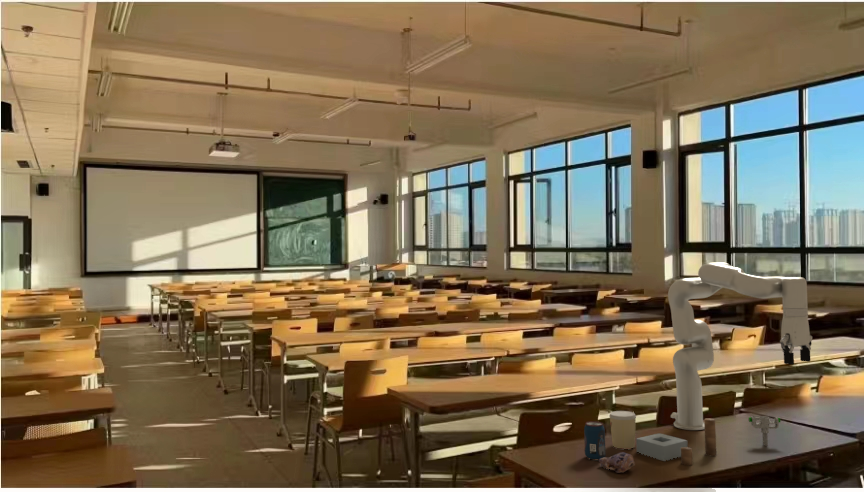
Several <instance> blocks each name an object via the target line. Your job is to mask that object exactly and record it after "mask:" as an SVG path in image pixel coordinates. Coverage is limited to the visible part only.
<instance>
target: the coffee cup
mask: <svg viewBox="0 0 864 492" xmlns="http://www.w3.org/2000/svg"><path fill="white" fill-rule="evenodd" d="M636 418H637V415H636V414H635V412H634V411H633V412H632V411H628V410H616V411H611V412H610V413H609V421H610V423H609V424H610V433H611V434H610V435H611V441H612V447H613V446H614V447H617V448H624V449H626V448H633V447H634V448H635V446H636V444H635V443H636V423H637V422H636ZM614 447H613V448H614ZM617 448H616V449H617ZM634 448H633V449H634ZM624 449H623V450H624Z"/></svg>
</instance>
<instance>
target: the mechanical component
mask: <svg viewBox="0 0 864 492" xmlns="http://www.w3.org/2000/svg"><path fill="white" fill-rule="evenodd" d="M757 421H758V422H757ZM748 422H749V423H750V424H751V426H752V427H753V428H755V429H760V433H762V445H763V446H765V447H767V446H768V444H769V442H768V441H769V440H768V434H770V433H769V432H770V431H769V429H774V430H775V429H778V428H779V426H780V424H779V423H781V418H780V417H777V416H776V417H774V419H773V420H771V419H770V417H769V416H765V415H762V416H761V415H759V416H758V415H755V416H754V415H750V417H748ZM770 424H771V425H770ZM773 424H774V425H773Z"/></svg>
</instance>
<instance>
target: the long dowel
mask: <svg viewBox="0 0 864 492" xmlns="http://www.w3.org/2000/svg"><path fill="white" fill-rule="evenodd" d="M703 422H704V427H705V429H704V447H705V449H704V451H705V455H706V456H709V455H711V456H710V457H715V455H716V456H717V434H716V432H717V431H716V429H717V428H716V419H715V418H703Z"/></svg>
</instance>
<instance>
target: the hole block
mask: <svg viewBox="0 0 864 492" xmlns="http://www.w3.org/2000/svg"><path fill="white" fill-rule="evenodd" d="M635 443H636V444H635V446H636V453H637V452H639V453H641V454H640V455H643V454H644V455H643V456H646V455H647V456H646V457H649V456H650V458H652V457H653V458H652V459H655V458H656V459H655V460H659V461H663V462H666V460H667V461H671V460H674V459H673V458H675V459H677V457H678V458H681V448H682V447H689V446H688V440H686V439H683V438H680V437H675V436H672V435H668V434H665V433H660V432H658V433H654V434H650V435H645V436H641V437H637V438H636V437H635ZM639 453H638V454H639ZM670 459H671V460H670Z"/></svg>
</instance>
